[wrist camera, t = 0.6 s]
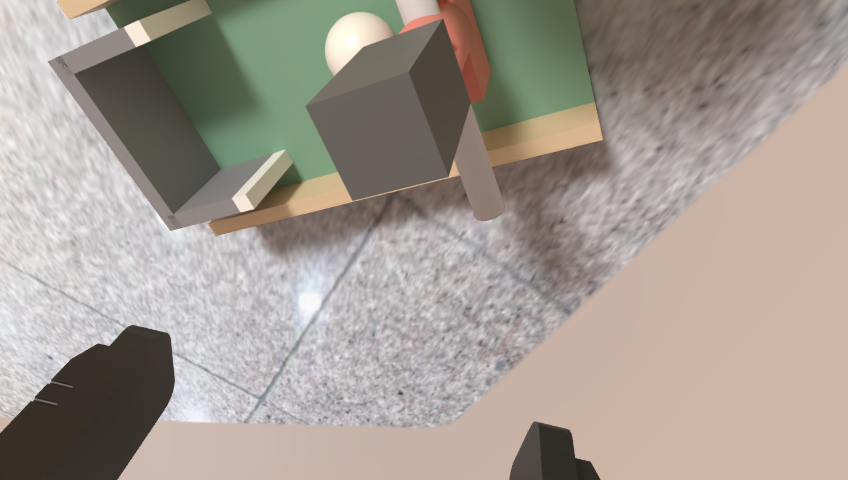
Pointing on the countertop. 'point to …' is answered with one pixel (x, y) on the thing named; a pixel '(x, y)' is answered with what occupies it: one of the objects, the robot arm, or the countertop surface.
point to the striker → (412, 108)
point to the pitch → (292, 97)
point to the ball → (353, 37)
